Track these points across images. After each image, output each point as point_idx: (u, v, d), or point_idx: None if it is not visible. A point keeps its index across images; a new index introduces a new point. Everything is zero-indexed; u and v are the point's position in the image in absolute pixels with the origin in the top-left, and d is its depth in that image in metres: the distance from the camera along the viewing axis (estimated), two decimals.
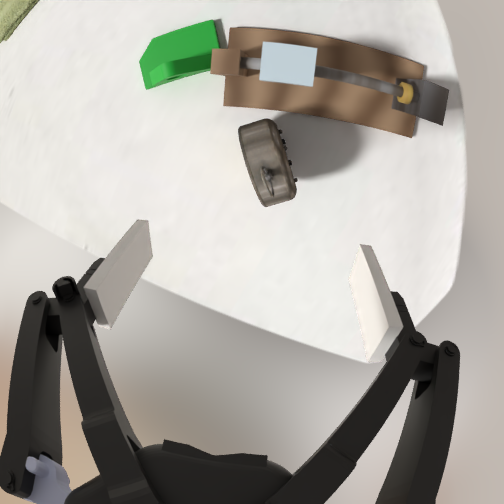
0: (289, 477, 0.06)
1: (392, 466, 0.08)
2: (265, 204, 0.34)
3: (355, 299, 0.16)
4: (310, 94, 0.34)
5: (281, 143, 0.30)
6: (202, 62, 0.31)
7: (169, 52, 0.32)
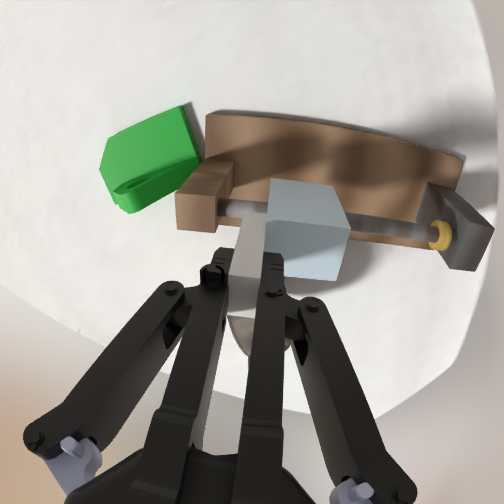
0: (233, 470, 0.06)
1: (320, 436, 0.09)
2: None
3: None
4: None
5: None
6: (174, 179, 0.27)
7: (132, 157, 0.28)
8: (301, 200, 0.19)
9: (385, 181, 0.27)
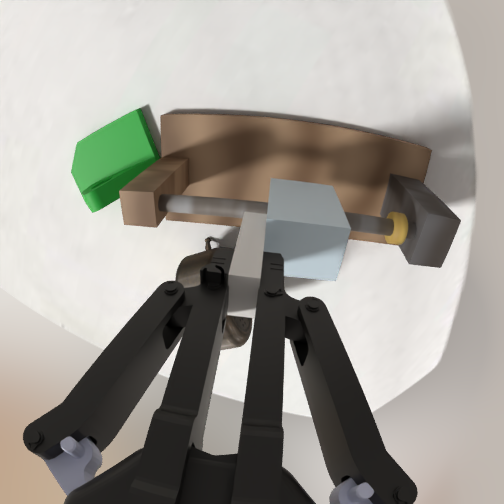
0: (233, 470, 0.06)
1: (319, 436, 0.09)
2: None
3: None
4: None
5: None
6: (133, 178, 0.27)
7: (98, 160, 0.28)
8: (301, 200, 0.19)
9: (343, 173, 0.27)
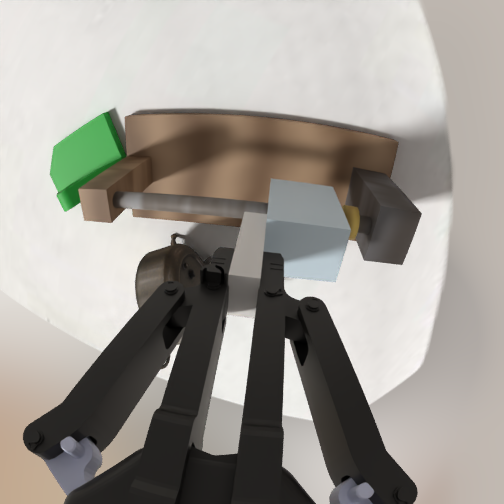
0: (233, 470, 0.06)
1: (320, 437, 0.09)
2: None
3: None
4: None
5: None
6: None
7: (72, 162, 0.28)
8: (301, 201, 0.19)
9: (302, 168, 0.27)
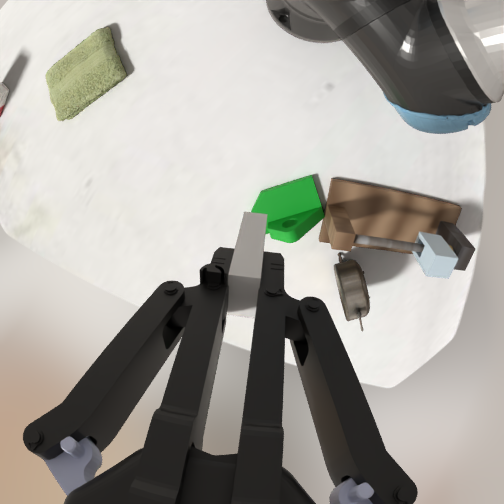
0: (233, 470, 0.06)
1: (320, 436, 0.09)
2: None
3: None
4: (381, 235, 0.50)
5: (367, 290, 0.46)
6: (312, 220, 0.47)
7: (278, 206, 0.49)
8: (438, 245, 0.39)
9: (419, 220, 0.47)
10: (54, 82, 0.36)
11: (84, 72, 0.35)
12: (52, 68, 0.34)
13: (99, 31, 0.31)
